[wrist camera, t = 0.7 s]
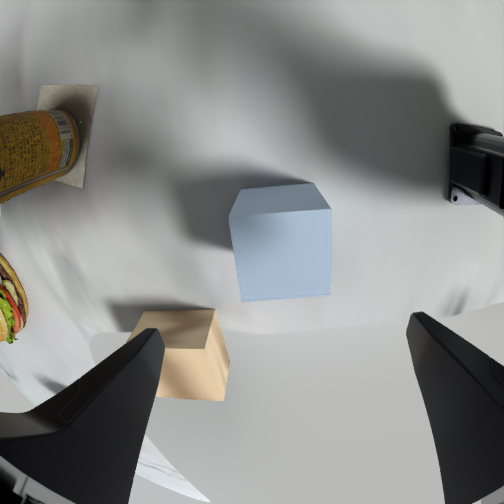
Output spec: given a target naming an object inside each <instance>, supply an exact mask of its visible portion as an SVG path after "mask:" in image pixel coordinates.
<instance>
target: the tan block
mask: <svg viewBox="0 0 504 504" xmlns="http://www.w3.org/2000/svg"><path fill="white" fill-rule="evenodd" d="M146 328H157V329H158V330H159V332H160V334H161V336H162V339H163V341H164V344H165V353H164V358H163V364H162V369H161V375H160V380H159V385H158V389H157V392H156V396H158V397H168V398H179V399H193V400H214V401H224V395H225V390H226V384H227V377H228V371H229V365H230V359H229V356H228V352H227V349H226V345H225V342H224V338H223V334H222V330H221V329H220V325H219V321H218V318H217V314H216V310H215V309H205V310H176V311H144V312H143V314H142V316H141V318H140V319H139V321H138V323H137V325H136V326H135V328H134V330H133V332H132V333H131V335H130V337H129V339H128V341H130V340H131V339H132V338H134V337H135V336H136V335H138V334H139V333H140V332H142V331H143V330H144V329H146ZM128 341H127V342H128ZM127 342H126V343H127Z"/></svg>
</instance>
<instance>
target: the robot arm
mask: <svg viewBox="0 0 504 504" xmlns="http://www.w3.org/2000/svg"><path fill="white" fill-rule="evenodd" d="M455 127H457V131H456V130H455ZM449 179H450V181H449V195H448V199H449V202H450V203H452V204H455V205H462V204H483V205H484V206H486V207H488V208H490V209H491V210H493V211H495V212H497V213H498V214H500V215H502V216H503V217H504V137H503V135H502V133H500V132H497V131H493V130H489V129H484V128H480V127H475V126H470V125H465V124H459V123H452V124H451V126H450V178H449ZM454 196H455V199H454V200H453V197H454ZM406 336H407V339H408V344H409V348H410V353H411V357H412V362H413V366H414V370H415V374H416V377H417V380H418V384H419V387H420V390H421V393H422V396H423V400H424V403H425V407H426V410H427V414H428V417H429V421H430V425H431V429H432V433H433V437H434V442H435V446H436V451H437V455H438V461H439V466H440V472H441V478H442V484H443V491H444V499H445V504H472V503H474V502H476V501H478V500H480V499H481V503H482V504H504V366H503V365H501V364H499V363H498V362H497V361H495V360H494V359H493V358H490V357H489V356H488V355H487V354H485V353H484V352H482V351H481V350H479V349H478V348H477V347H475V346H474V345H472V344H471V343H469V342H468V341H466V340H465V339H463V338H462V337H461V336H459V335H457V334H456V333H454V332H453V331H452V330H450V329H448V328H447V327H445V326H444V325H442V324H441V323H439V322H438V321H436V320H435V319H433V318H432V317H430V316H429V315H427V314H426V313H424V312H414V313H412V314H411V316H410V320H409V323H408V327H407V332H406ZM164 353H165V344H164V341H163V339H162V336H161V334H160V332H159V330H158V329H157V328H146V329H144V330H143V331H142V332H140V333H139V334H138V335H136V336H135V337H134V338H132V339H131V340H130V341H128V342H127V343H126V344H124V345H123V346H122V347H120V348H119V349H118V350H116V351H115V352H114V353H112V354H111V355H110V356H108V357H107V358H106V359H104V360H103V361H102V362H100V363H99V364H98V365H96V366H95V367H94V368H92V369H91V370H90V371H88V372H87V373H86V374H84V375H83V376H82V377H81V378H79V379H78V380H76V381H75V382H74V383H72V384H71V385H69V386H68V387H67V388H65V389H64V390H62V391H61V392H59V393H58V394H56V395H55V396H53V397H51V398H50V399H48V400H47V401H45V402H43V403H42V404H40V405H38V406H37V407H35V408H34V409H32V410H30V411H27V412H24V413H4V412H0V504H128V501H129V497H130V492H131V488H132V484H133V478H134V474H135V470H136V466H137V462H138V458H139V454H140V450H141V446H142V442H143V439H144V435H145V431H146V427H147V423H148V420H149V417H150V413H151V409H152V406H153V402H154V399H155V396H156V392H157V389H158V385H159V380H160V375H161V369H162V364H163V358H164Z"/></svg>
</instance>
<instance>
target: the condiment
mask: <svg viewBox="0 0 504 504" xmlns="http://www.w3.org/2000/svg"><path fill="white" fill-rule="evenodd" d="M97 90H98V86H96V85H41V87H40V92H39V96H38V103H37V106H36V111H27V112H21V113H13V114H9V115H2V116H0V204H1V203H4V202H5V201H8V200H9V199H11V198H12V197H14V196H16V195H19V194H23V193H24V192H26V191H28V190H31V189H33V188H36V187H37V186H39V185H43V184H45V183H46V182H49V181H52V180H54V181H58V182H62V183H65V184H68V185H71V186H75V187H78V188H82V189H83V181H84V173H85V162H86V157H87V147H88V139H89V130H90V125H91V121H92V115H93V111H94V105H95V98H96V94H97ZM53 105H54V107H53V108H52V109H51V107H52V106H53ZM80 122H81V123H80Z"/></svg>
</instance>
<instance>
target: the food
mask: <svg viewBox="0 0 504 504" xmlns="http://www.w3.org/2000/svg"><path fill="white" fill-rule="evenodd" d="M27 316H28V304H27V300H26V296H25V293H24V290H23V288H22V286H21V284H20V282H19V280H18V278H17V276H16V274H15V272H14V271H13V270H12V268H11V267H10V266H9V264H8V263H7V261H6V260H5V259H4V258H3V257H2V256H1V255H0V342H2V341H4V340H5V341H6V342H8V343H9V344H11V343H13V339H14V340H17V339H16V338H15V334H16V333H17V332H21V331H22V329H23V328H24V327H25V324H26V318H27Z"/></svg>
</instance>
